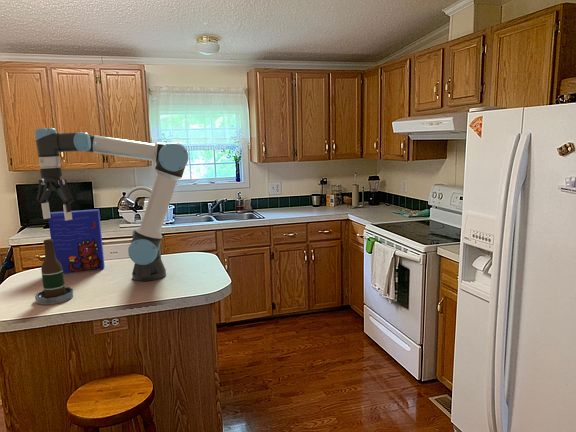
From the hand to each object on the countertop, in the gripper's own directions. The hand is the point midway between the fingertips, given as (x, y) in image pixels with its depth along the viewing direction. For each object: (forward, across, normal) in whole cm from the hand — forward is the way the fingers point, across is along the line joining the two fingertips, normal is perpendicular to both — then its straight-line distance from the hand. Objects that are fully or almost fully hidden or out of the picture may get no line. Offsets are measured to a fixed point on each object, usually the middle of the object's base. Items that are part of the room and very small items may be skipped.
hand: (57, 219), depth 174 cm
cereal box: (+32, -24, +24) cm, 47 cm away
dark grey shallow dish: (+32, +2, -7) cm, 33 cm away
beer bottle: (+31, +2, -7) cm, 32 cm away
